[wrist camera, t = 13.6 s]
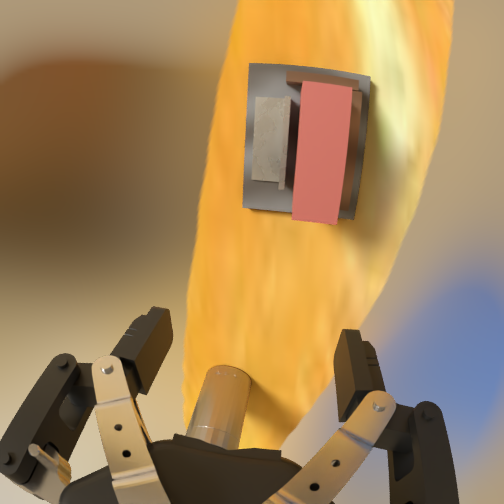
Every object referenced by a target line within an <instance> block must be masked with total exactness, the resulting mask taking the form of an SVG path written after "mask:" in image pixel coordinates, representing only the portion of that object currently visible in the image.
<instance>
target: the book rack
mask: <svg viewBox="0 0 504 504" xmlns="http://www.w3.org/2000/svg"><path fill="white" fill-rule="evenodd" d="M303 81H311V82H319V83H327V84H334V85H340V86H346V87H352V103H351V116H350V127H349V137H348V147H347V156H346V164H345V172H344V180H343V187H342V194H341V201H340V207H339V214H338V218H343V219H351V220H354V216H355V210H356V205H357V199H358V193H359V186H360V179H361V173H362V165H363V158H364V149H365V141H366V131H367V121H368V109H369V95H370V76H365V75H360V74H355V73H349V72H344V71H337V70H331V69H323V68H315V67H306V66H296V65H283V64H262V63H249V77H248V96H247V116H246V138H245V160H244V184H243V208H252V209H262V210H273V211H283V212H292V202H293V185H294V174H295V163H296V151H297V138H298V125H299V111H300V95H301V88H302V84H303ZM285 96H291V112H290V127H289V141H288V154H287V167H286V180H285V187H284V190H279V189H278V187H279V182H273V181H261V180H251V179H252V159H253V139H254V119H255V100H256V97H271V98H285Z"/></svg>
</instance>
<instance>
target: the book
mask: <svg viewBox="0 0 504 504" xmlns="http://www.w3.org/2000/svg"><path fill="white" fill-rule="evenodd" d="M351 103H352V87H346V86H340V85H334V84H327V83H319V82H311V81H303V84H302V88H301V95H300V111H299V125H298V138H297V151H296V163H295V174H294V185H293V202H292V220H299V221H308V222H317V223H325V224H333V225H337V220H338V214H339V207H340V201H341V194H342V187H343V180H344V172H345V164H346V156H347V147H348V137H349V127H350V116H351Z"/></svg>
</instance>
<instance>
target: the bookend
mask: <svg viewBox="0 0 504 504" xmlns="http://www.w3.org/2000/svg"><path fill="white" fill-rule="evenodd" d="M290 112H291V96H285V98H271V97H256V100H255V119H254V139H253V159H252V179H251V180H261V181H273V182H279V187H278V189H279V190H284V187H285V180H286V167H287V154H288V141H289V127H290Z"/></svg>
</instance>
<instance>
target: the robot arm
mask: <svg viewBox="0 0 504 504" xmlns="http://www.w3.org/2000/svg"><path fill="white" fill-rule="evenodd" d="M172 341H173V330H172V324H171V317H170V311H169V309H165V308H160V307H155V306H153V307H152V308H151V309H150V311H149V312H148V314H147V315H141V316H140V317H138V318H137V319H135V320H134V321H133V322H132V324H131V325H130V327H129V329H127V331H126V332H125V335H123V337H122V338H121V339H120V341H119V343H118V344H117V345H116V347H115V348H114V350H113V351H112V353H111V354H110V355H106V356H102V357H99V358H98V359H96V360H95V361H94V363H77V361H76V359H75V357H74V356H73V355H71V354H66V353H64V354H60V355H58V356H56V357H55V358H53V360H52V361H51V362H50V364H49V365H48V366H47V368H46V369H45V371H44V372H43V374H42V375H41V376H40V378H39V379H38V381H37V382H36V384H35V385H34V387H33V388H32V390H31V391H30V393H29V394H28V396H27V397H26V399H25V401H24V402H23V404H22V405H21V407H20V408H19V410H18V412H17V413H16V415H15V417H14V419H13V420H12V422H11V423H10V425H9V427H8V428H7V430H6V432H5V434H4V435H3V437H2V439H1V441H0V472H1V473H2V474H3V475H5V476H6V477H7V478H9V479H10V480H11V481H12V482H13V483H14V484H16V485H17V486H19V487H20V488H22V489H23V490H25V491H27V492H29V493H31V494H33V495H34V496H36V497H38V498H39V499H42V500H46V501H47V502H49V503H51V504H335V503H334V502H333V501H332V500H333V499H334V498H335V496H336V495H337V494H338V493H339V492H340V491H341V489H342V488H343V487H344V486H345V485H346V483H347V482H348V481H349V480H350V478H351V477H352V476H353V475H354V473H355V472H356V471H357V469H358V468H359V467H360V465H361V464H362V463H363V461H364V460H365V458H366V457H367V455H368V454H369V453H370V451H371V450H372V448H373V447H376V448H380V449H385V450H387V452H388V467H389V486H390V504H459V498H458V489H457V482H456V475H455V469H454V464H453V458H452V453H451V449H450V444H449V440H448V435H447V431H446V426H445V422H444V419H443V415H442V411H441V409H440V408H439V407H438V406H437V405H436V404H434V403H432V402H429V401H424V402H420V403H419V404H417V406H416V407H415V408H413V407H408V406H403V405H399V404H397V403H396V402H395V400H394V398H393V397H392V396H391V395H390V394H388V393H387V392H386V390H385V386H384V382H383V378H382V374H381V370H380V367H379V363H378V360H377V355H376V352H375V349H374V348H373V346H372V345H371V344H370V343H369V342H368V341H362V339H361V335H360V331H359V330H352V329H343V330H342V332H341V335H340V338H339V341H338V344H337V348H336V351H335V354H334V374H335V384H336V394H337V404H338V417H339V422H346V423H345V424H344V425H343V426H342V427H341V428H339V429H338V430H337V432H335V434H334V435H333V436H332V437H331V438H330V439H329V440H328V442H327V443H326V444H325V445H324V446H323V447H322V448H321V449H320V450H319V452H318V453H317V454H316V455H315V456H314V457H313V458H312V459H311V460H310V461H309V462H308V463H307V464H306V465H305V466H304V467H303V468H302V467H301V466H300V465H298V464H296V463H295V462H293V461H291V460H289V459H286V458H283V457H281V450H269V449H259V448H249V449H238V447H239V441H240V437H241V432H242V427H243V422H244V417H245V413H246V408H247V403H248V398H249V393H250V388H251V379H250V378H249V376H248V375H247V374H246V373H244V372H243V371H241V370H239V369H237V368H234V367H230V366H216V367H213V368H211V369H209V370H208V372H207V374H206V377H205V380H204V383H203V386H202V388H201V391H200V394H199V397H198V400H197V403H196V406H195V409H194V412H193V415H192V418H191V421H190V423H189V426H188V429H187V433H186V435H185V436H183V435H179V434H174V437H173V440H170V439H169V440H160V441H156V442H152V441H151V439H150V436H149V434H148V432H147V429H146V427H145V424H144V421H143V418H142V415H141V413H140V410H139V407H138V404H137V401H136V397H137V395H138V393H141V394H144V395H147V393H148V391H149V389H150V387H151V385H152V383H153V381H154V379H155V377H156V375H157V373H158V371H159V369H160V367H161V364H162V363H163V361H164V358H165V356H166V355H167V353H168V351H169V349H170V347H171V344H172ZM63 401H64V402H63ZM94 407H95V413H96V418H97V423H98V427H99V432H100V436H101V440H102V444H103V448H104V451H105V455H106V459H107V462H108V466H106V467H104V468H101V469H100V470H97V471H95V472H93V473H91V474H89V475H87V476H85V477H82V478H80V479H78V480H76V481H73V482H71V483H70V480H71V467H70V464H69V463H68V461H69V458H70V456H71V454H72V452H73V449H74V447H75V445H76V443H77V441H78V439H79V437H80V435H81V432H82V430H83V428H84V426H85V424H86V422H87V420H88V418H89V416H90V414H91V412H92V410H93V408H94Z"/></svg>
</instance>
